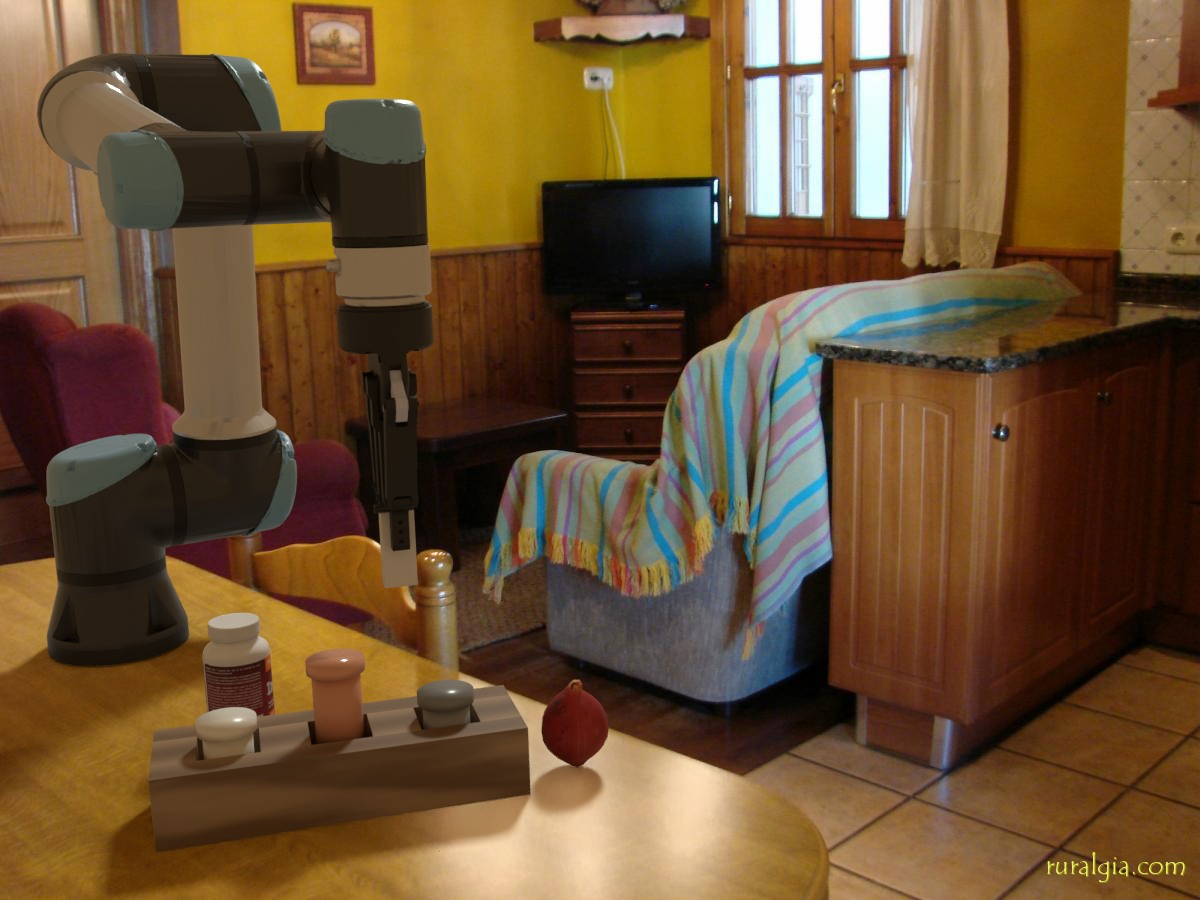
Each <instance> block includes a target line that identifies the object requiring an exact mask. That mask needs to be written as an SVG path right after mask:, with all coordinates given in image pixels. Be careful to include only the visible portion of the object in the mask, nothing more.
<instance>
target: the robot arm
mask: <svg viewBox="0 0 1200 900" xmlns="http://www.w3.org/2000/svg"><path fill="white" fill-rule="evenodd" d="M36 117H37V122H38V123H37V125H38V128H39V130H40V134H41V136H42V138H43V140H44V141H45V143H46V144H47V145H48V147H49V148H50V149H51V150H52V151H53V153H54V154H56V155H57V156H58V157H60V159H62V160H63V161H64V162H66V163H68V164H69V165H71V166H73V167H76V168H78V169H81V170H85V171H90V172H95V173H96V174H97V185H98V191H99V197H100V202H101V205H102V207H103V209H104V212H105V213H104V214H105V216H106V218H107V220H108V221H109V223H110V224H112V225H113V226H114V227H116V228H119V229H122V230H148V231H152V232H162V231H165V230H169V229H172V239H173V256H174V268H175V269H174V270H175V284H176V298H177V299H176V300H177V315H178V329H179V342H180V344H179V345H180V358H181V360H180V361H181V372H182V373H181V375H182V387H183V399H184V400H183V401H184V402H183V403H184V405H183V406H184V411H183V413H181V415H180V416H179V417H178V418H177V419H176V420H175V421H174V422H173V423H172V426H171V428H172V429H171V431H172V443H167V444H161V445H158V444H157V442H156V441H155V440H154V437H152V435H150V434H147V433H129V434H124V435H123V434H117V435H111V436H106V437H102V438H101V437H100V438H97V439H93V440H89V441H86V442H82V443H78V444H77V445H73V446H71V447H68V448H66V449H65V450H62V451H61V452H59V453H57V454H56V455H54V456H53V457H52V458H51V460H50V461H49V462H48V465H47V467H46V473H45V474H46V497H45V501H46V504H47V505H48V508H49V517H50V518H49V519H50V526H51V527H50V528H51V534H52V543H53V553H54V554H53V555H54V561H55V563H54V564H55V569H56V578H57V579H56V580H57V581H56V582H57V590H56V593H55V594H56V595H55V597H54V602H53V607H52V609H51V610H52V611H51V615H50V618H49V619H50V620H49V624H48V627H47V628H48V629H47V631H46V632H47V633H46V641H47V651H48V656H49V657H50V659H51V660H53V661H55V662H56V663H60V664H64V665H66V666H67V665H68V666H72V667H73V666H74V667H108V666H119V665H125V664H132V663H137V662H140V661H143V660H144V661H145V660H148V659H153V658H155V657H158V656H162V655H165V654H167V653H168V652H171V651H173V650H175V649H177V648H178V647H181V646H182V645H184V643H186V642H187V640H188V639H189V636H190V628H189V627H190V626H189V621H188V620H189V619H188V615H187V611H185V608H184V606H183V604H182V601H181V599H180V597H179V594H178V593H177V590H176V588H175V587H174V586H175V585H174V584H173V582H172V579H171V577H170V575H169V573H168V567H167V558H166V548H169V547H174V546H175V547H176V546H181V545H188V544H195V543H200V542H205V541H206V542H207V541H211V540H217V539H218V540H219V539H224V538H231V537H238V536H242V537H245V536H252V535H253V534H255V533H259V532H263V531H269V530H274V529H276V528H278V527H280V526H281V525H282V524H284V522H285V521H286V520H287V518H288V517H289V516H290V513H291V512H292V509H293V506H294V502H295V499H296V498H295V497H296V493H297V492H296V491H297V485H298V483H297V482H298V481H297V480H298V479H297V478H298V472H297V471H298V469H297V468H298V467H297V461H296V459H294V457H295V448H294V445H293V443H292V441H291V439H290V436H289V435H288V434H287V433H285V432H284V431H282V430H279V429H278V428H277V420H276V419H275V417H274V416H273V415H271V414H270V413H269V412H268V411H266V410H265V409H264V407H263V399H262V397H263V396H262V379H261V361H260V359H261V358H260V356H261V355H260V341H259V338H260V337H259V323H258V322H259V319H258V303H257V301H258V300H257V284H256V282H257V281H256V264H255V243H254V241H255V240H254V227H253V226H255V225H256V226H258V225H281V224H282V225H283V224H285V225H286V224H309V223H310V224H311V223H312V224H313V223H314V224H315V223H330V225H331V235H332V237H331V243H332V247H333V254H334V256H335V259H328V260H327V261H326V262H325V263H326V265H325V266H326V270H327V272H330V273H335V272H336V274H335V275H334V276H335V277H334V279H335V281H334V282H335V293H336V296H338V297H339V298H340V299H343V300H344V303H341V304H339V305H338V308H336V318H337V322H336V323H337V334H338V336H337V337H338V346H339V348H340V350H342V351H343V352H346V353H350V354H355V355H368V356H367V361H368V363H367V367H368V368H367V369H368V371H361V372H360V383H361V389H362V391H363V392H364V397H365V398H364V399H365V412H366V420H367V425H368V434H369V435H368V436H369V447H370V456H371V457H370V458H371V469H372V479H373V482H372V489H373V492H374V493H375V494H376V495H375V496H376V497H375V499H376V502H377V504H372V508H373V514H375V515H376V514H378V527H379V540H380V541H379V545H380V557H381V559H380V563H381V575H382V585H383V586H384V588H385V589H391V588H401V587H409V586H410V587H411V586H417V585H419V582H418V580H419V579H418V561H417V546H416V545H417V542H416V526H415V525H416V523H415V508H418V506H419V503H420V502H419V501H420V500H419V496H418V495H419V494H418V490H419V489H418V429H417V428H418V415H419V414H418V412H419V411H418V410H419V407H420V401H419V398H418V397H417V394H418V382H417V380H418V379H417V375H416V373H415V372H411V368H409V363H408V358H407V357H408V356H407V355H408V354H409V353H410V352H419V351H424V350H426V349H429V348H430V347H432V345H433V344H434V321H433V318H434V317H433V305H432V304H430V301H428V300H426V298H425V296H427V295H430V294H431V293H432V290H433V289H432V267H431V266H432V265H431V245H430V243H429V236H428V235H429V231H428V229H429V227H428V206H427V205H428V204H427V203H428V202H427V179H426V178H427V177H426V175H427V174H426V154H427V145H426V143H425V141H424V131H423V122H422V113H421V110H420V107H418V105H417V104H416V103H415V102H413V101H411V100H408V99H403V98H402V99H401V98H355V99H340V100H334V101H332V102H330V103H329V104H328V105H327V106H326V108H325V111H324V129H322V130H282V124H281V118H280V111H279V108H278V104H277V100H276V96H275V94H274V90H273V88H272V85H271V83H270V82H269V79H268V78H267V76H266V74H265V72H264V71H263V69H262V68H261V67H260V66H259V65H258V63H256V62H254V61H253V60H251V59H249V58H247V57H240V56H233V55H232V56H231V55H230V56H229V55H224V54H223V55H222V54H216V53H211V54H210V53H209V54H184V53H183V54H181V53H179V54H178V53H177V54H175V53H174V54H173V53H172V54H170V53H167V54H166V53H128V52H111V53H103V54H98V55H92V56H89V57H86V58H85V57H84V58H83V59H80V60H77V61H75V62H73V63H71V64H69V65H68V66H65V67H64V68H63V69H61V70H59V71H58V72H57V73H55V74H54V75H53V76H52V77H51V78H50V79H49V81H47V83H46V84H45V86H44V88H43V89H42V91H41V92H40V95H39V99H38V101H37V109H36Z"/></svg>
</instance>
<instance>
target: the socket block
mask: <svg viewBox="0 0 1200 900" xmlns="http://www.w3.org/2000/svg"><path fill="white" fill-rule="evenodd" d="M473 689H474V702H473V703H472V704H471V705H470V723H469V724H461V725H454V726H447V727H440V728H432V729H425V730H424V727H423V709H421V708H420V707H419V706H418V704H417V695H415V696H407V697H400V698H399V697H398V698H392V699H386V700H385V699H383V700H377V701H369V702H362V704H363V719H364V734H365V738H359V739H352V740H345V741H338V742H330V743H323V744H316V733H315V720H314V709H308V710H300V711H294V712H292V711H291V712H284V713H278V714H276V713H275V715H268V716H261V717H257V729H256V731H255V732H254V733H253V740H254V751H255V753H250V754H243V755H236V756H228V757H221V758H214V759H207V760H204V753H203V742H202V740H200V739H199V738H198V737H197V734H196V724H192V725H187V726H185V725H184V726H177V727H172V728H171V727H170V728H162V729H154V730H153V736H152V737H153V738H152V745H151V754H150V762H149V763H150V764H149V772H148V779H147V780H148V781H147V782H148V790H149V791H148V792H149V799H150V800H149V801H150V809H151V817H152V818H151V820H152V827H153V829H152V830H153V840H154V848H155V853H158V852H164V851H165V852H166V851H172V850H179V849H185V848H191V847H197V846H198V847H199V846H204V845H210V844H218V843H225V842H231V841H237V840H243V839H249V838H258V837H263V836H271V835H276V834H282V833H288V832H296V831H302V830H303V831H304V830H309V829H314V828H321V827H328V826H334V825H341V824H347V823H354V822H361V821H367V820H373V819H380V818H385V817H387V818H388V817H394V816H399V815H405V814H411V813H419V812H426V811H431V810H437V809H438V810H439V809H446V808H452V807H458V806H459V807H460V806H466V805H470V804H471V805H472V804H477V803H484V802H492V801H496V800H503V799H511V798H517V797H523V796H529V795H531V794H532V793H531V792H532V791H531V789H532V788H531V769H530V768H531V767H530V744H529V743H530V741H529V727H528V724H527V723H526V722H525V720H524V718H523V717H522V715H521V713H520V711H519V709H518V707H517V706H516V704H515V703H514V701H513V699H512V698H511V695H510V694H509V692H508V691H507V689H506V687H505V685H504V684H501V685H500V684H499V685H492V686H484V687H476V688H473Z"/></svg>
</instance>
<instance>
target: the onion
mask: <svg viewBox="0 0 1200 900" xmlns="http://www.w3.org/2000/svg"><path fill="white" fill-rule="evenodd" d="M609 729H610V728H609V721H608V717H607V714H606V712H605V709H604V707H603V705H602V704H601V703H600V701H599V700H598V699H596V697H594V696H593V695H592V694H590V693H589V692H587V691H585V690H584V689H583V683H582V681H581V680H580V679H572V681H570V682H569V683H568V685H567V686H566V687H565V689H563V690H562V691H560V692H559V693H557V694H556V695H555V696H554V697H553V698H552V699H551V700H550V701H549V703H548V704H547V705H546V707H545V709H544V711H543V715H542V719H541V729H540V731H541V738H542V742H543V743H544V745H545V748H546V749H547V750H548V751H549V752H550V753H551V754H552V755H553V756H555V757H556V758H557V759H558V760H560V761H562V762H564V763H566V764H568V765H569V766H572V767H574V768H580V767H582V766H584V765H585V764H586V762H587V761H589V760H590V759H591V758H592V757H594V756H596V755H597V753H598V752H599V751H600V750H601V749H602V748H603V747H604V745H605V743H606V741H607V740H608V736H609Z"/></svg>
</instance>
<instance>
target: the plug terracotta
mask: <svg viewBox="0 0 1200 900" xmlns="http://www.w3.org/2000/svg"><path fill="white" fill-rule="evenodd" d="M304 661H305V662H304V663H305V664H304V665H305V675H306V677H307V678H309V679H310V680H311V690H312V693H311V694H312V703H313V706H312V707H313V710H314V720H315V733H316V744H323V743H330V742H338V741H345V740H352V739H359V738H365V734H364V719H363V704H362V703H363V694H362V693H363V690H362V677H361V674H362V673H364V671H365V670H366V669H365V668H366V662H365V654H364V653H363V652H362V651H359V650H356V649H352V648H351V649H350V648H333V649H326V650H321V651H319V652H315V653H313V654H310V655H309V656H307V658H305V660H304Z"/></svg>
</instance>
